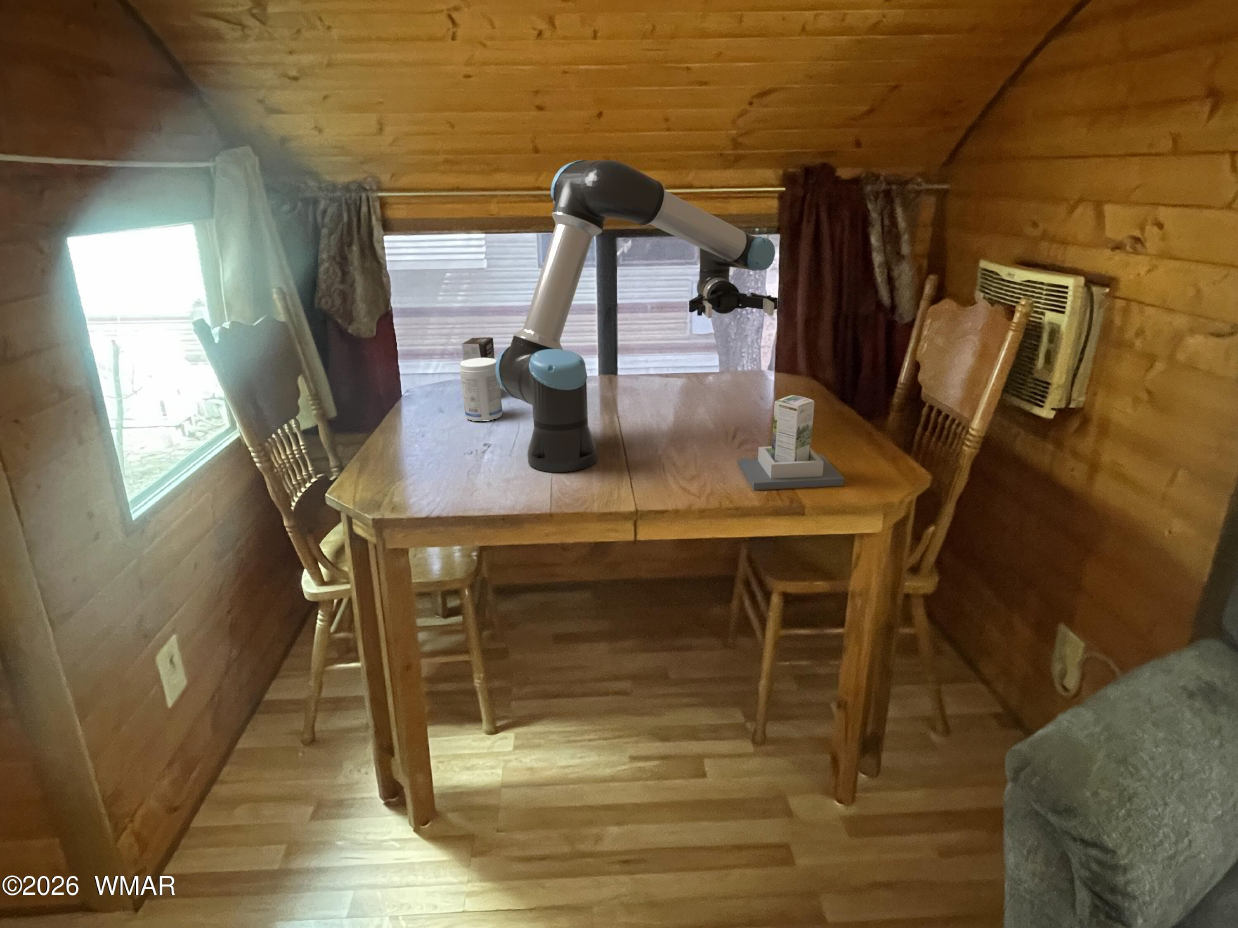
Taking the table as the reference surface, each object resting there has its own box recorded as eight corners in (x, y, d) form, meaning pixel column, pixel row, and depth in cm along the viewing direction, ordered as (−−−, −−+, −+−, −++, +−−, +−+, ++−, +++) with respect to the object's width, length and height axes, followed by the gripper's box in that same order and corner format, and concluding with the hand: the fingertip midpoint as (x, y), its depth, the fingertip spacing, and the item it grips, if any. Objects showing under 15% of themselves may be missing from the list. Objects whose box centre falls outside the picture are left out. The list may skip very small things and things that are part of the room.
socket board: (753, 490, 154) (754, 468, 153) (738, 465, 168) (738, 445, 166) (843, 485, 156) (845, 464, 154) (821, 461, 169) (822, 441, 167)
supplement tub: (498, 410, 210) (493, 355, 205) (506, 420, 201) (502, 363, 196) (461, 415, 207) (456, 359, 201) (468, 425, 198) (463, 367, 193)
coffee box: (488, 401, 218) (483, 343, 212) (466, 401, 219) (460, 343, 213) (498, 392, 226) (493, 336, 221) (476, 392, 227) (471, 336, 222)
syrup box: (786, 460, 165) (789, 393, 160) (810, 467, 161) (815, 399, 156) (769, 468, 161) (773, 399, 156) (794, 475, 157) (798, 405, 152)
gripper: (771, 309, 193) (796, 325, 173) (670, 313, 191) (683, 330, 171) (773, 278, 190) (798, 291, 170) (670, 281, 189) (683, 295, 169)
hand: (741, 310), depth 171 cm, fingers open, 13 cm apart
